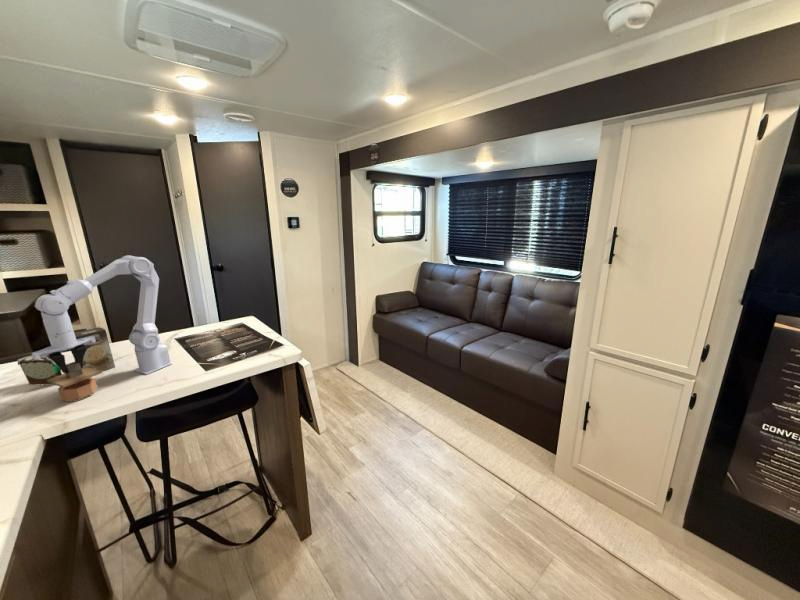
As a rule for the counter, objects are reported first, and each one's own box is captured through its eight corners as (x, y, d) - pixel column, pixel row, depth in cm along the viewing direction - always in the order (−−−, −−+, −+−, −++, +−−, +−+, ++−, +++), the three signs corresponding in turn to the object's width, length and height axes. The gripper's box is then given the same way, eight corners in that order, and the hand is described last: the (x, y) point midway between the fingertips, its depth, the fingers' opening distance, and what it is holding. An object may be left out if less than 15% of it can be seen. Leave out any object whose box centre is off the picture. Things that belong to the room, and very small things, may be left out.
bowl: (89, 386, 112) (85, 375, 111) (102, 391, 109) (98, 380, 108) (58, 399, 105) (54, 387, 103) (71, 404, 102) (66, 392, 100)
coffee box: (85, 377, 118) (73, 337, 114) (79, 372, 121) (67, 334, 117) (116, 367, 126) (105, 329, 121) (109, 363, 129) (99, 326, 124)
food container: (77, 375, 119) (69, 351, 116) (61, 384, 113) (52, 359, 110) (43, 376, 119) (34, 352, 116) (25, 385, 113) (15, 359, 110)
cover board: (86, 368, 111) (82, 355, 110) (102, 373, 107) (98, 360, 106) (47, 382, 102) (42, 368, 101) (63, 387, 98) (58, 373, 97)
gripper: (83, 322, 108) (93, 358, 112) (21, 338, 95) (36, 378, 99) (94, 325, 106) (104, 362, 109) (32, 341, 93) (47, 382, 97)
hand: (72, 370), depth 104 cm, fingers closed on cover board, 3 cm apart
